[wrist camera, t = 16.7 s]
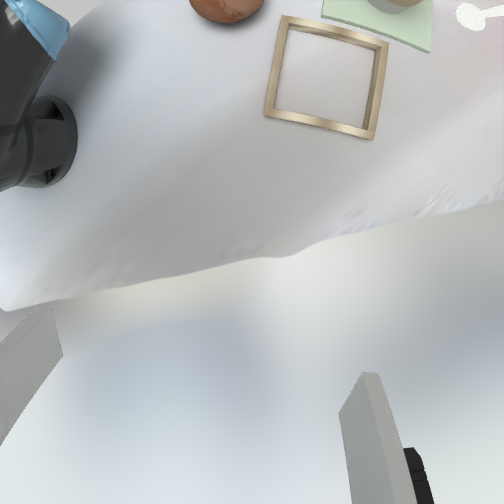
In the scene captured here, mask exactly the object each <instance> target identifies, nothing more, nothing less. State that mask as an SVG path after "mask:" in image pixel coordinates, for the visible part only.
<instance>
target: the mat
mask: <svg viewBox="0 0 504 504" xmlns="http://www.w3.org/2000/svg"><path fill="white" fill-rule="evenodd" d="M321 17H323V18H327V19H331V20H335V21H339V22H343V23H346V24H350V25H353V26H357V27H360V28H363V29H366V30H369V31H372V32H375V33H378V34H381V35H384V36H387V37H390V38H392V39H395V40H397V41H400V42H403V43H405V44H407V45H410V46H412V47H415V48H417V49H419V50H422V51H424V52H426V53H429V52H431V38H432V17H433V0H423V1H422V2H420V3H418V4H416V5H414V6H411V7H409V8H407V9H406V10H404V11H402V12H401V13H398V14H389V13H385V12H382V11H380V10H378V9H376V8H375V7H374V6H372V5H371V4H370V3H369V2H368V1H367V0H324V1H323V7H322V13H321Z"/></svg>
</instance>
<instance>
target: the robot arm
mask: <svg viewBox="0 0 504 504" xmlns="http://www.w3.org/2000/svg"><path fill="white" fill-rule="evenodd" d="M69 34H70V24H69V22H68V21H67V20H66V19H65V18H63V17H62V16H60V15H59V14H57V13H56V12H54V11H53V10H51V9H49V8H48V7H46V6H45V5H43V4H41V3H40V2H38V1H36V0H0V192H1V191H3V190H6V189H8V188H10V187H13V186H22V187H30V188H43V187H46V186H49V185H52V184H54V183H56V182H58V181H59V180H60V179H61V178H62V177H63V176H64V175H65V174H66V173H67V171H68V170H69V168H70V166H71V164H72V162H73V159H74V156H75V152H76V146H77V127H76V122H75V119H74V116H73V114H72V111H71V110H70V108H69V107H68V105H67V104H66V103H65V102H63V101H62V100H60V99H58V98H56V97H37V98H34V97H35V95H36V93H37V91H38V90H39V88H40V86H41V84H42V82H43V80H44V78H45V77H46V75H47V73H48V71H49V70H50V68H51V66H52V64H53V63H54V61H55V62H56V60H57V55H58V53H59V52H60V50H61V48H62V46H63V45H64V43H65V41H66V40H67V38H68V36H69ZM62 356H63V353H62V349H61V345H60V342H59V338H58V334H57V330H56V326H55V321H54V317H53V312H52V309H51V308H48V307H45V306H42V305H38V306H37V307H36V308H35V309H34V310H33V311H32V312H31V313H30V314H29V315H28V316H27V317H26V318H25V319H24V320H23V321H22V322H21V323H20V324H19V325H18V326H17V327H16V328H15V329H14V330H13V331H12V332H11V333H10V334H9V335H8V336H7V337H6V338H5V339H4V340H3V341H2V342H1V343H0V446H1V444H2V443H3V441H4V439H5V438H6V436H7V435H8V433H9V431H10V430H11V428H12V427H13V425H14V424H15V422H16V421H17V419H18V418H19V416H20V415H21V413H22V411H23V410H24V409H25V407H26V406H27V404H28V403H29V401H30V400H31V399H32V397H33V396H34V394H35V393H36V391H37V390H38V389H39V387H40V386H41V385H42V383H43V382H44V380H45V379H46V378H47V376H48V375H49V374H50V372H51V371H52V369H53V368H54V367H55V366H56V364H57V363H58V362H59V360H60V359H61V358H62ZM339 418H340V424H341V430H342V436H343V443H344V449H345V455H346V462H347V469H348V476H349V484H350V491H351V499H352V504H434V501H433V497H432V493H431V490H430V486H429V482H428V480H427V475H426V472H425V471H424V465H423V462H422V459H421V457H420V455H419V454H418V453H417V452H416V450H415V449H414V448H413V447H412V448H404V449H403V447H402V444H401V441H400V437H399V434H398V431H397V428H396V424H395V421H394V418H393V415H392V412H391V409H390V406H389V402H388V400H387V396H386V393H385V391H384V388H383V385H382V382H381V380H380V376H379V374H378V373H368V372H362V373H361V375H360V377H359V379H358V380H357V382H356V384H355V386H354V388H353V390H352V391H351V393H350V395H349V396H348V398H347V400H346V402H345V404H344V405H343V407H342V409H341V410H340V412H339Z"/></svg>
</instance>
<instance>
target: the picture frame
mask: <svg viewBox="0 0 504 504" xmlns="http://www.w3.org/2000/svg"><path fill="white" fill-rule="evenodd" d="M288 29H292V30H297V31H303V32H307V33H312V34H317V35H321V36H325V37H329V38H333V39H337V40H341V41H344V42H348V43H351V44H355V45H358V46H361V47H365V48H368V49H371V50H374V51H375V57H374V64H373V71H372V77H371V84H370V90H369V96H368V102H367V107H366V113H365V118H364V124H363V129H360V128H356V127H353V126H349V125H345V124H341V123H337V122H334V121H329V120H325V119H321V118H317V117H312V116H308V115H303V114H298V113H294V112H288V111H283V110H278V109H273V107H274V101H275V96H276V90H277V85H278V79H279V74H280V69H281V63H282V58H283V52H284V47H285V41H286V36H287V31H288ZM388 48H389V43H388V42H385V41H382V40H379V39H377V38H374V37H371V36H367V35H364V34H361V33H358V32H355V31H351V30H348V29H344V28H340V27H337V26H333V25H329V24H325V23H320V22H316V21H312V20H307V19H302V18H297V17H291V16H285V15H282V17H281V22H280V28H279V33H278V38H277V43H276V49H275V54H274V59H273V65H272V70H271V76H270V81H269V87H268V92H267V98H266V103H265V109H264V114H263V115H264V116H266V117H272V118H277V119H283V120H288V121H293V122H298V123H303V124H307V125H312V126H316V127H321V128H325V129H329V130H333V131H337V132H341V133H345V134H349V135H353V136H356V137H360V138H363V139H367V140H374V135H375V130H376V125H377V120H378V114H379V109H380V103H381V97H382V91H383V84H384V78H385V71H386V64H387V56H388Z"/></svg>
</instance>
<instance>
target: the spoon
mask: <svg viewBox="0 0 504 504" xmlns="http://www.w3.org/2000/svg"><path fill="white" fill-rule="evenodd" d="M455 15H456V19H457V20H458V22H459V23H460V24H461V25H462V26H463V27H465V28H467V29H469V30H472V31H481V30H483V29H484V27H485V25H486V24H485V18H488V17H497V16H504V5H501V6H497V7H494V8H490V9H486V10H483V11H481V10H479V9H478V8H477V7H475V6H474V5H472V4H469V3H462V4H460V5H459V6H458V7H457V9H456V12H455Z"/></svg>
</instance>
